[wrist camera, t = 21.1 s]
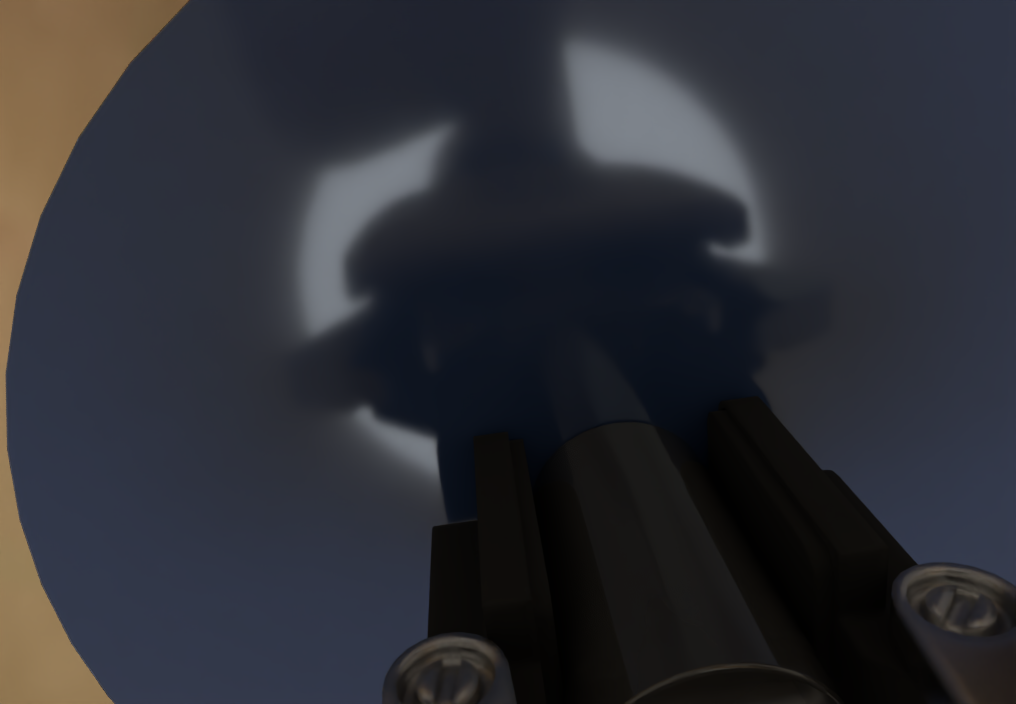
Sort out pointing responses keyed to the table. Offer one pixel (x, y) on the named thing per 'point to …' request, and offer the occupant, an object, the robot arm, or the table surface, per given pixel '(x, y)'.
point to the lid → (509, 326)
